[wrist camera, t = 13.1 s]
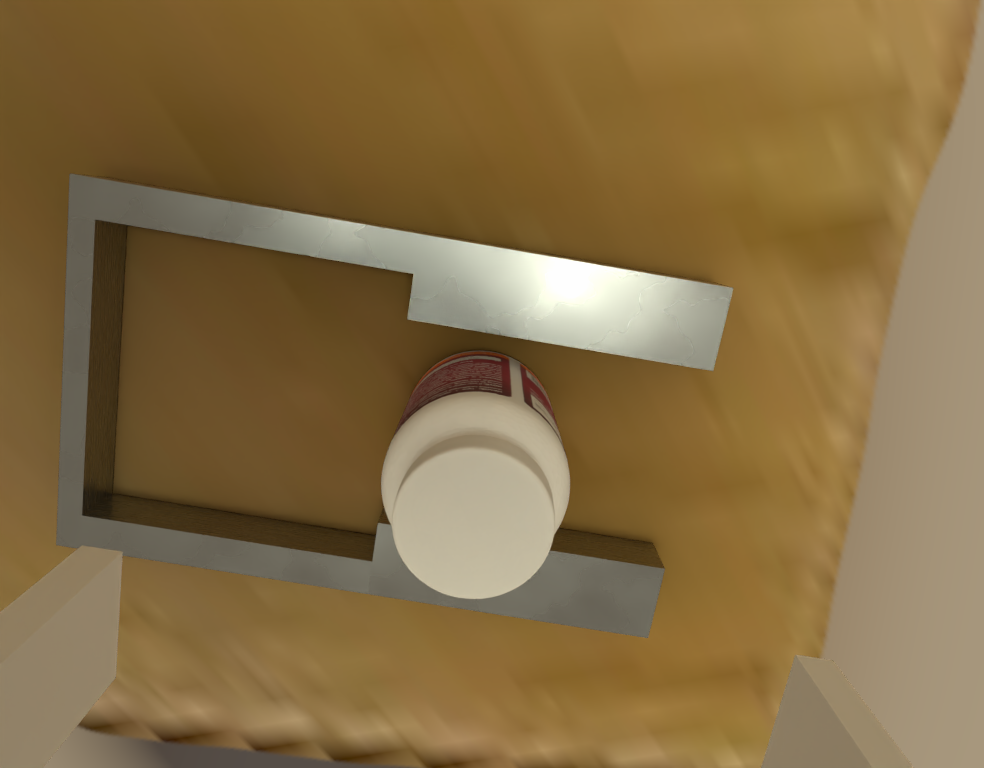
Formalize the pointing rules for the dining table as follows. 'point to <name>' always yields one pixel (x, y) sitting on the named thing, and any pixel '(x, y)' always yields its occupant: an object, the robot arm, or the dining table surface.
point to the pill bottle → (476, 476)
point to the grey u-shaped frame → (434, 299)
